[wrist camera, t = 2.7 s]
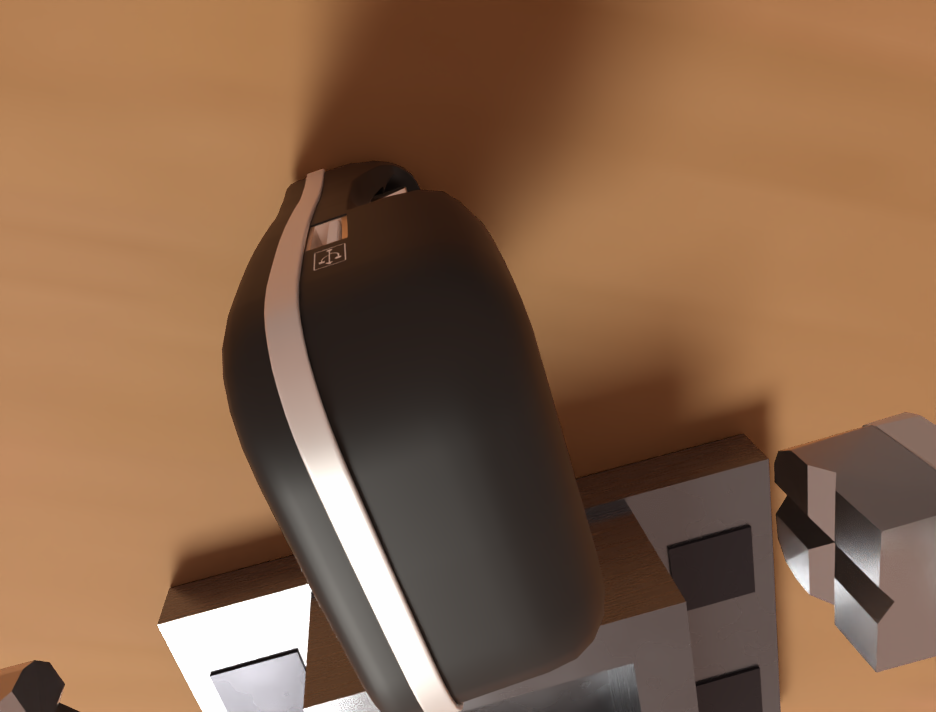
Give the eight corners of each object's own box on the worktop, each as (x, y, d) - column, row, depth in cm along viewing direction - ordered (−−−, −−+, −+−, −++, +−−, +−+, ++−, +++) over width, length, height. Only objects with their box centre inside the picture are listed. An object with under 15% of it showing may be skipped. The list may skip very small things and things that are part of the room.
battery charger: (505, 370, 21) (663, 703, 10) (377, 414, 21) (406, 793, 10) (428, 123, 18) (539, 239, 7) (279, 173, 18) (178, 363, 7)
